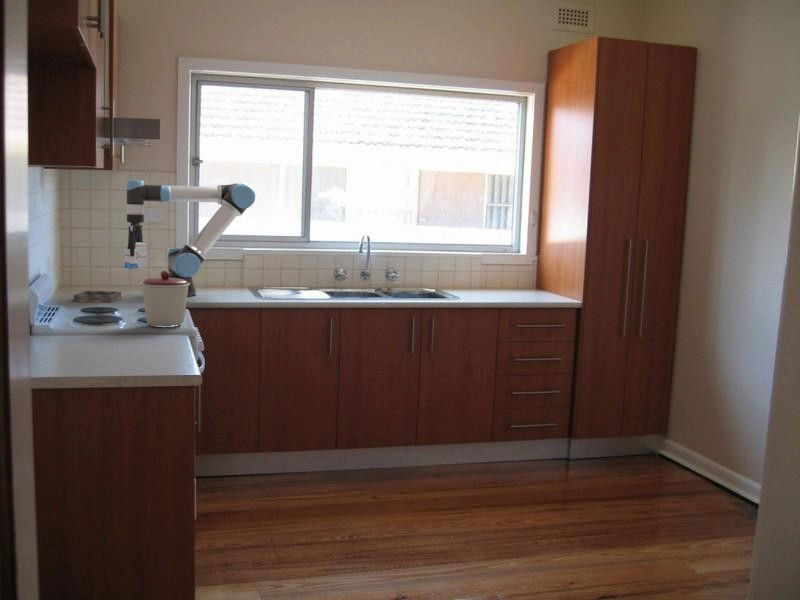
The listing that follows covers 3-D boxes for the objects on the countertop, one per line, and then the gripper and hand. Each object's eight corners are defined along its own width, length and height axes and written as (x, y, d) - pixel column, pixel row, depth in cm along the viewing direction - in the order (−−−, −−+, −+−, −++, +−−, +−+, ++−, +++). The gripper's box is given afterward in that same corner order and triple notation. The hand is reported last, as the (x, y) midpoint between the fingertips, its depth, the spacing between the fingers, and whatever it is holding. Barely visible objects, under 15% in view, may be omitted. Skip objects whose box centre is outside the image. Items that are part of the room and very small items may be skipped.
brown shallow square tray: (122, 297, 391) (122, 291, 391) (111, 302, 374) (111, 295, 374) (85, 296, 390) (85, 290, 390) (72, 301, 373) (72, 294, 373)
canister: (197, 324, 323) (197, 270, 320) (176, 331, 305) (177, 274, 303) (154, 321, 326) (154, 267, 324) (131, 328, 309) (131, 271, 306)
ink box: (130, 268, 380) (130, 243, 379) (124, 268, 383) (124, 242, 382) (146, 268, 387) (146, 242, 385) (140, 267, 390) (140, 242, 388)
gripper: (133, 213, 393) (134, 260, 395) (120, 214, 371) (120, 264, 374) (149, 213, 393) (149, 260, 396) (137, 214, 371) (137, 264, 374)
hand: (135, 262), depth 385 cm, fingers closed on ink box, 9 cm apart
